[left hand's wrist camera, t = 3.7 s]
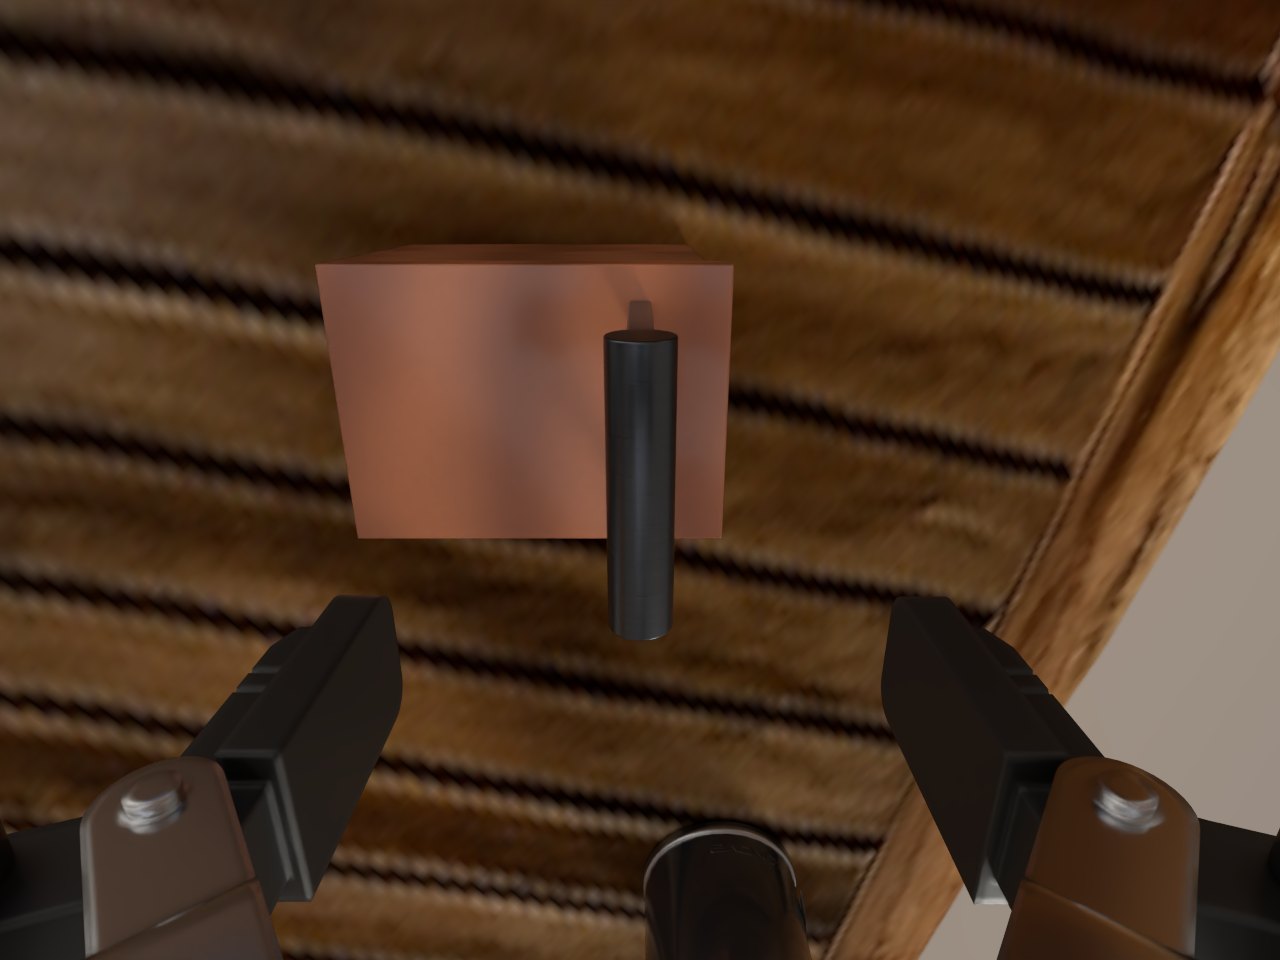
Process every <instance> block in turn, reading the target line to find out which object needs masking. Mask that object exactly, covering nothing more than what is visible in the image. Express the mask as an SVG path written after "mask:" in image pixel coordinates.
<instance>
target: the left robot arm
mask: <svg viewBox="0 0 1280 960" xmlns="http://www.w3.org/2000/svg"><path fill="white" fill-rule="evenodd" d="M1032 671H1033V670H1032V669H1031V668H1030V667H1029V666H1028V664H1027V663H1026V662H1025V661H1024V660H1023V658H1022V657H1021V656H1020V655H1019V654H1018V652H1017V651H1016V650H1015V649H1014V648H1013V647H1012V646H1010V645H1009V644H1007V643H1006V642H1004V641H1003V640H1001V639H1000V638H998V637H997V636H995V635H994V634H992V633H991V632H989V631H987V630H986V629H984V628H972V627H971V625H970V624H969V623H968V621H967V620H966V619H965V618H964V616H963V615H962V614H961V612H960V611H959V610H958V608H957V607H956V606H955V605H954V603H953V602H952V601H951V600H950V599H949V598H948V597H898V598H896V600H895V601H894V603H893V606H892V610H891V617H890V623H889V630H888V637H887V644H886V651H885V658H884V664H883V671H882V679H881V695H882V703H883V708H884V713H885V716H886V719H887V721H888V723H889V725H890V727H891V730H892V732H893V734H894V736H895V738H896V740H897V742H898V744H899V746H900V749H901V751H902V753H903V755H904V757H905V759H906V761H907V763H908V765H909V768H910V770H911V772H912V774H913V776H914V778H915V780H916V782H917V785H918V787H919V789H920V791H921V793H922V795H923V797H924V799H925V801H926V804H927V806H928V808H929V810H930V812H931V814H932V816H933V818H934V820H935V823H936V825H937V827H938V829H939V831H940V833H941V835H942V837H943V840H944V842H945V844H946V846H947V848H948V850H949V852H950V854H951V856H952V859H953V861H954V863H955V865H956V867H957V869H958V871H959V873H960V875H961V878H962V880H963V882H964V884H965V886H966V888H967V890H968V892H969V894H970V897H971V899H972V901H973V903H974V904H1008V905H1009V907H1010V908H1011V910H1012V912H1011V915H1010V918H1009V922H1008V925H1007V928H1006V931H1005V935H1004V938H1003V941H1002V944H1001V948H1000V951H999V954H998V957H997V960H1280V829H1279V831H1278V834H1277V836H1273V835H1269V834H1265V833H1260V832H1256V831H1251V830H1247V829H1243V828H1238V827H1234V826H1229V825H1225V824H1221V823H1217V822H1212V821H1208V820H1205V819H1201V818H1197V815H1196V814H1195V812H1194V810H1193V809H1192V807H1191V806H1190V805H1189V803H1188V802H1187V801H1186V800H1185V799H1184V798H1183V797H1182V796H1181V795H1180V794H1179V793H1178V792H1177V791H1176V790H1174V789H1173V788H1172V787H1171V786H1169V785H1168V784H1167V783H1165V782H1164V781H1162V780H1160V779H1159V778H1157V777H1156V776H1154V775H1152V774H1150V773H1148V772H1146V771H1144V770H1142V769H1140V768H1138V767H1135V766H1133V765H1130V764H1127V763H1124V762H1121V761H1118V760H1114V759H1110V758H1105V757H1104V756H1103V755H1102V754H1101V752H1100V751H1099V750H1098V749H1097V748H1096V746H1095V745H1094V744H1093V743H1092V741H1091V740H1090V739H1089V738H1088V737H1087V735H1086V734H1085V733H1084V732H1083V731H1082V729H1081V728H1080V727H1079V726H1078V725H1077V723H1076V722H1075V721H1074V720H1073V719H1072V717H1071V716H1070V715H1069V714H1068V713H1067V711H1066V710H1065V709H1064V708H1063V707H1062V705H1061V704H1060V703H1059V702H1058V701H1057V699H1056V698H1055V697H1054V696H1053V695H1052V694H1049V693H1048V688H1047V687H1046V686H1045V685H1044V684H1043V682H1042V681H1041V680H1040V679H1039V678H1038V676H1037V675H1033V673H1032ZM401 699H402V673H401V666H400V659H399V652H398V645H397V638H396V631H395V624H394V617H393V610H392V606H391V602H390V600H389V599H388V597H387V596H384V595H339V596H336V597H335V598H334V599H333V600H332V601H331V602H330V604H329V605H328V606H327V608H326V609H325V610H324V611H323V613H322V614H321V615H320V617H319V618H318V619H317V621H316V622H315V623H314V625H313V626H312V627H299V628H298V629H296V630H295V631H293V632H292V633H290V634H289V635H287V636H286V637H284V638H283V639H281V640H280V641H278V642H277V643H275V644H274V645H272V646H271V647H270V648H269V649H268V650H267V652H266V653H265V654H264V655H263V656H262V658H261V659H260V660H259V661H258V663H257V664H256V665H255V666H254V667H253V669H252V673H248V675H247V676H246V677H245V678H244V680H243V681H242V682H241V683H240V684H239V686H238V687H237V692H236V693H232V694H231V695H230V697H229V698H228V699H227V700H226V701H225V703H224V704H223V705H222V706H221V708H220V709H219V710H218V711H217V712H216V714H215V715H214V716H213V717H212V718H211V720H210V721H209V722H208V723H207V725H206V726H205V727H204V728H203V729H202V731H201V732H200V733H199V734H198V735H197V737H196V738H195V739H194V740H193V742H192V743H191V744H190V745H189V746H188V748H187V749H186V750H185V751H184V752H183V754H182V755H181V756H180V757H176V758H170V759H166V760H162V761H159V762H156V763H153V764H149V765H147V766H145V767H142V768H140V769H138V770H136V771H134V772H132V773H130V774H128V775H126V776H124V777H123V778H121V779H120V780H118V781H116V782H115V783H113V784H112V785H111V786H109V787H108V788H107V789H105V790H104V791H103V792H102V793H101V794H100V795H99V796H98V797H97V798H96V799H95V800H94V801H93V802H92V803H91V805H90V806H89V807H88V809H87V810H86V812H85V814H84V815H83V817H80V818H76V819H71V820H67V821H63V822H58V823H54V824H49V825H45V826H41V827H36V828H32V829H28V830H23V831H19V832H15V833H10V834H6V832H5V829H4V827H3V825H2V822H1V820H0V960H283V957H282V954H281V951H280V948H279V944H278V941H277V938H276V935H275V931H274V928H273V925H272V922H271V918H270V915H271V913H272V911H273V909H274V907H275V905H276V903H277V902H311V901H312V899H313V897H314V894H315V892H316V890H317V888H318V886H319V884H320V882H321V880H322V877H323V875H324V873H325V871H326V869H327V867H328V865H329V862H330V860H331V858H332V856H333V854H334V852H335V850H336V847H337V845H338V843H339V841H340V839H341V837H342V835H343V832H344V830H345V828H346V826H347V824H348V822H349V820H350V817H351V815H352V813H353V811H354V809H355V807H356V805H357V802H358V800H359V798H360V796H361V794H362V792H363V790H364V787H365V785H366V783H367V781H368V779H369V777H370V775H371V772H372V770H373V768H374V766H375V764H376V762H377V760H378V757H379V755H380V753H381V751H382V749H383V747H384V745H385V742H386V740H387V738H388V736H389V734H390V732H391V730H392V727H393V725H394V723H395V721H396V719H397V716H398V713H399V710H400V705H401ZM643 890H644V899H645V960H812V959H811V954H810V950H809V945H808V941H807V937H806V914H805V907H804V903H803V899H802V895H801V891H800V899H801V909H800V905H799V900H798V896H797V891H796V881H795V875H794V871H793V867H792V862H791V860H790V857H789V855H788V853H787V851H786V850H785V849H784V847H783V846H782V845H781V844H780V843H779V842H778V841H777V840H776V839H775V838H774V837H772V836H771V835H769V834H768V833H766V832H764V831H762V830H760V829H758V828H756V827H753V826H750V825H746V824H742V823H737V822H729V821H714V822H705V823H700V824H696V825H692V826H689V827H686V828H684V829H681V830H679V831H677V832H675V833H673V834H672V835H670V836H669V837H667V838H666V839H665V840H663V841H662V842H661V843H660V844H659V845H658V846H657V847H656V848H655V849H654V850H653V852H652V853H651V855H650V856H649V858H648V860H647V863H646V865H645V869H644V876H643Z"/></svg>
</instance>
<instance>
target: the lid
mask: <svg viewBox="0 0 1280 960" xmlns="http://www.w3.org/2000/svg"><path fill="white" fill-rule="evenodd" d="M315 267H316V274H317V280H318V286H319V293H320V299H321V306H322V312H323V318H324V325H325V331H326V337H327V344H328V350H329V357H330V363H331V369H332V376H333V382H334V388H335V395H336V401H337V408H338V414H339V420H340V427H341V433H342V439H343V446H344V452H345V458H346V465H347V471H348V478H349V484H350V490H351V497H352V503H353V509H354V516H355V522H356V529H357V535H358V538H607V572H608V623H609V627H610V629H611V630H612V631H613V632H614V633H615V634H616V635H618V636H620V637H622V638H625V639H629V640H635V641H646V640H653V639H656V638H659V637H661V636H663V635H665V634H666V633H668V632H669V630H670V629H671V627H672V625H673V584H674V538H721V537H722V520H723V498H724V476H725V455H726V433H727V411H728V389H729V367H730V345H731V323H732V301H733V279H734V264H732V263H731V262H729V261H328V262H324V263H319V264H316V265H315Z"/></svg>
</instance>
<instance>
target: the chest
mask: <svg viewBox="0 0 1280 960" xmlns="http://www.w3.org/2000/svg"><path fill="white" fill-rule="evenodd" d="M335 261H704V260H703V259H702V258H701V257H700V256H699V255H698V254H697V253H696V252H695V251H694V250H693V249H692V248H691V247H690V246H689V245H688V244H411V245H407V246H402V247H397V248H392V249H387V250H383V251H378V252H373V253H368V254H363V255H358V256H354V257H349V258H344V259H339V260H335Z"/></svg>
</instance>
